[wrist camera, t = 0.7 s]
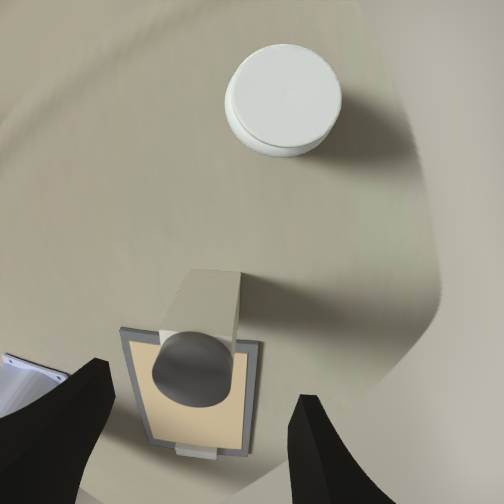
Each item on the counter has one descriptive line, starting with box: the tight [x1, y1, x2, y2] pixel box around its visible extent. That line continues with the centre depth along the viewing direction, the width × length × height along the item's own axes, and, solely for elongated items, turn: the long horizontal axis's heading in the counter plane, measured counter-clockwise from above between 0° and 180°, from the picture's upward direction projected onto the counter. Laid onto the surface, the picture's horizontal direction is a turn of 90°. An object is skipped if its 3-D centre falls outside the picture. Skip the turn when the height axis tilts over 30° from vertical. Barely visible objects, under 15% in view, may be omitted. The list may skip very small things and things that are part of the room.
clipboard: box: [119, 327, 258, 460], centre depth 23 cm, size 10×15×1 cm, turn 177°
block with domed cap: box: [152, 269, 241, 408], centre depth 16 cm, size 3×3×8 cm
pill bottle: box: [225, 44, 342, 158], centre depth 12 cm, size 4×4×8 cm
